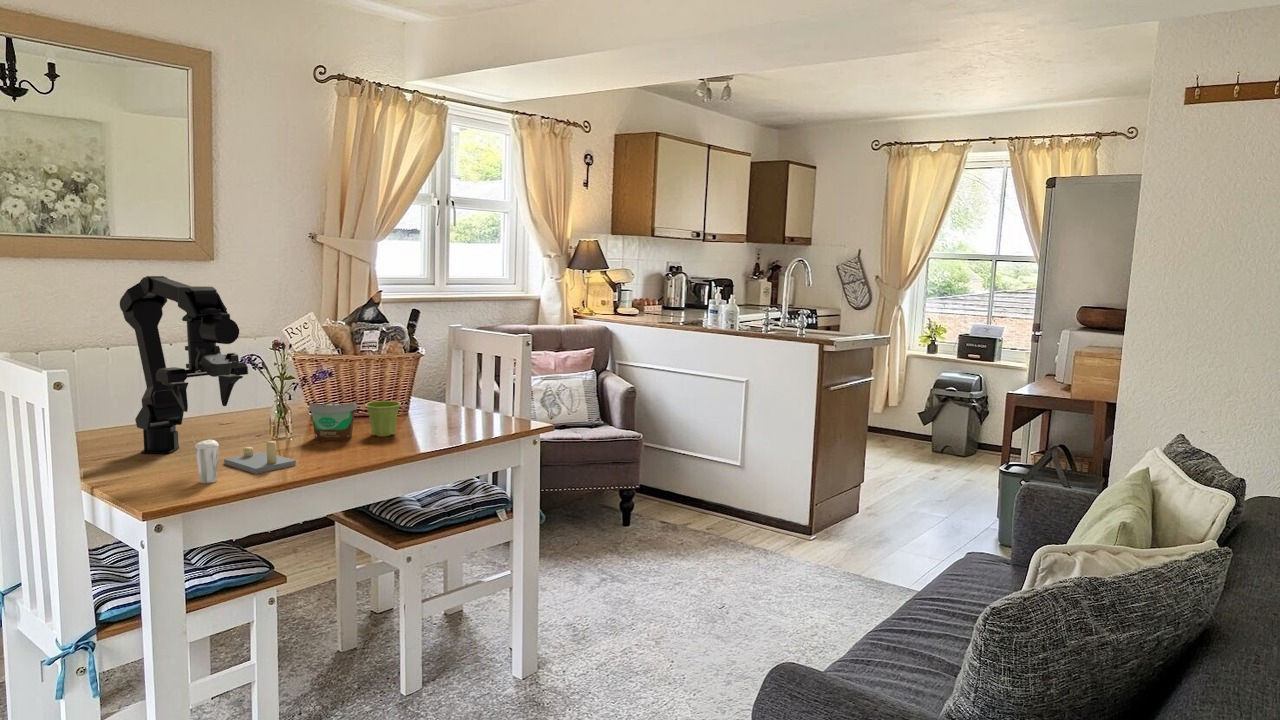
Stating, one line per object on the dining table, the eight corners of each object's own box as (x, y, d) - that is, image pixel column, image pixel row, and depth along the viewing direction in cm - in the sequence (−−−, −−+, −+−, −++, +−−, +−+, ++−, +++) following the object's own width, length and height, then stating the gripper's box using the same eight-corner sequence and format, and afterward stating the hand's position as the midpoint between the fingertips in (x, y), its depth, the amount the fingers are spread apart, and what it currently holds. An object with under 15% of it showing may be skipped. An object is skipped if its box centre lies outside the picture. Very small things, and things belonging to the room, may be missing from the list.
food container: (306, 443, 216) (305, 405, 214) (309, 438, 222) (308, 401, 220) (356, 442, 219) (355, 405, 218) (357, 437, 225) (357, 400, 224)
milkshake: (198, 478, 182) (196, 433, 180) (223, 478, 182) (222, 434, 181) (188, 484, 177) (186, 438, 176) (214, 484, 177) (213, 439, 176)
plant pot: (365, 439, 223) (365, 407, 222) (365, 431, 232) (365, 401, 231) (401, 437, 226) (401, 406, 225) (400, 430, 235) (400, 400, 234)
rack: (224, 463, 194) (223, 438, 193) (263, 455, 202) (263, 431, 201) (256, 473, 187) (255, 447, 186) (295, 465, 195) (295, 439, 194)
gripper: (179, 347, 177) (183, 418, 179) (260, 340, 193) (263, 406, 194) (152, 343, 183) (156, 413, 185) (233, 338, 199) (236, 402, 200)
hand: (205, 408), depth 191 cm, fingers open, 9 cm apart
